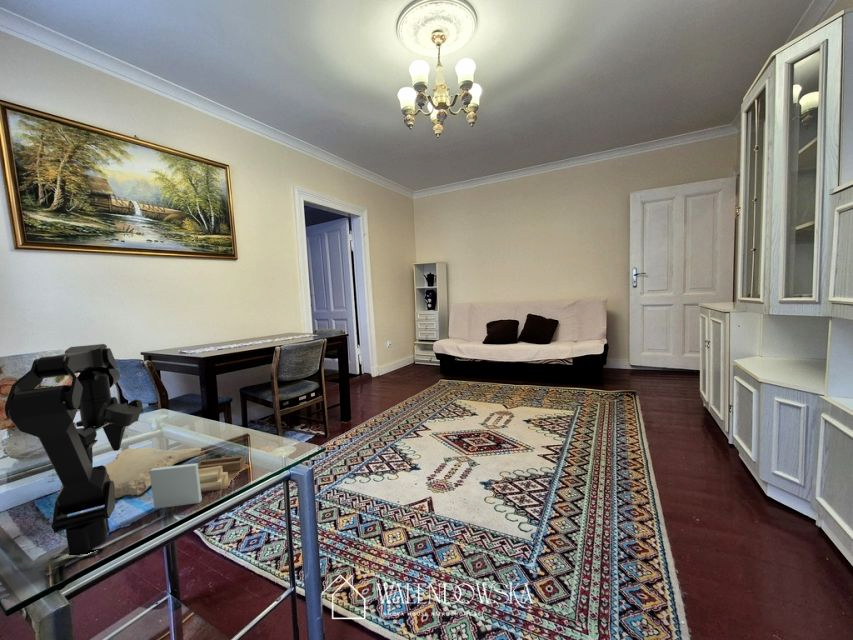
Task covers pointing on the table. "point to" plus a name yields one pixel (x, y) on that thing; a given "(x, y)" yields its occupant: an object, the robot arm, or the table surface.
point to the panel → (175, 485)
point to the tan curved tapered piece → (142, 467)
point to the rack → (225, 467)
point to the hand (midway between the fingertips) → (103, 459)
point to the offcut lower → (215, 483)
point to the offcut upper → (210, 474)
